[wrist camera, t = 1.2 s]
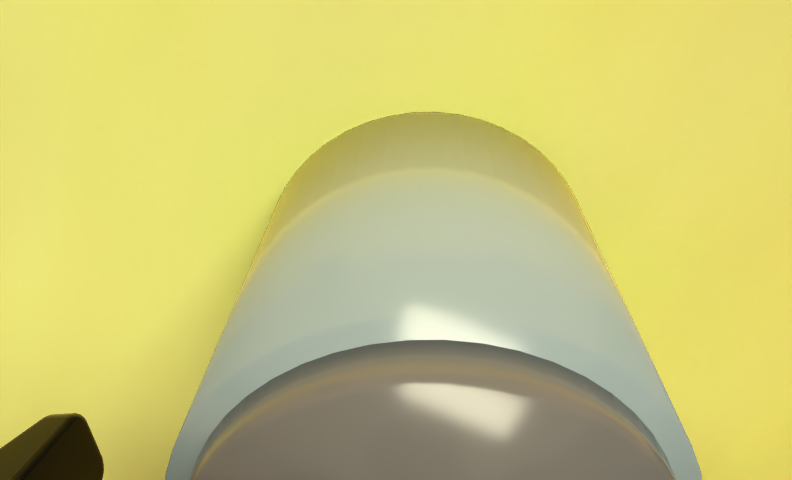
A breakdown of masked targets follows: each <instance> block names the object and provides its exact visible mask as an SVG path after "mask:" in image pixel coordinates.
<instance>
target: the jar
mask: <svg viewBox="0 0 792 480" xmlns="http://www.w3.org/2000/svg"><path fill="white" fill-rule="evenodd" d="M165 480H702V477H701V471H700V468H699V465H698V462H697V459H696V456H695V453H694V451H693V448H692V445H691V443H690V441H689V439H688V437H687V435H686V433H685V430H684V428H683V426H682V424H681V422H680V420H679V418H678V415H677V413H676V411H675V409H674V407H673V405H672V403H671V400H670V398H669V396H668V394H667V392H666V390H665V388H664V385H663V383H662V381H661V379H660V377H659V375H658V373H657V370H656V368H655V366H654V364H653V362H652V360H651V358H650V356H649V353H648V351H647V349H646V347H645V345H644V343H643V341H642V338H641V336H640V334H639V332H638V330H637V328H636V326H635V323H634V321H633V319H632V317H631V315H630V313H629V311H628V308H627V306H626V304H625V302H624V300H623V298H622V296H621V294H620V291H619V289H618V287H617V285H616V283H615V281H614V279H613V276H612V274H611V272H610V270H609V268H608V266H607V264H606V261H605V259H604V257H603V255H602V253H601V251H600V249H599V246H598V244H597V242H596V240H595V238H594V236H593V234H592V232H591V229H590V227H589V225H588V223H587V221H586V219H585V217H584V214H583V212H582V210H581V208H580V206H579V204H578V202H577V199H576V198H575V196H574V194H573V192H572V190H571V188H570V187H569V185H568V183H567V181H566V180H565V179H564V177H563V176H562V175H561V173H560V172H559V171H558V170H557V168H556V167H555V166H554V165H553V164H552V163H551V162H550V161H549V160H548V159H547V158H546V157H545V156H544V155H543V154H542V153H541V152H540V151H539V150H538V149H536V148H535V147H533V146H532V145H531V144H529V143H528V142H527V141H525V140H524V139H522V138H521V137H519V136H517V135H515V134H513V133H511V132H510V131H508V130H506V129H504V128H502V127H499V126H497V125H494V124H491V123H489V122H486V121H483V120H481V119H476V118H472V117H468V116H464V115H459V114H451V113H441V112H412V113H405V114H399V115H392V116H387V117H383V118H380V119H377V120H373V121H370V122H366V123H364V124H362V125H359V126H357V127H355V128H352V129H350V130H348V131H346V132H344V133H342V134H341V135H339V136H337V137H336V138H334V139H332V140H331V141H329V142H327V143H326V144H325V145H324V146H322V147H321V148H320V149H319V150H317V151H316V152H315V153H314V154H312V155H311V156H310V157H309V158H308V159H307V160H306V161H305V162H304V163H303V165H302V166H301V167H300V168H299V169H298V170H297V171H296V172H295V174H294V175H293V177H292V178H291V180H290V181H289V182H288V184H287V185H286V187H285V188H284V191H283V193H282V195H281V197H280V199H279V201H278V203H277V205H276V207H275V209H274V212H273V214H272V216H271V219H270V221H269V224H268V226H267V228H266V231H265V233H264V235H263V238H262V240H261V242H260V245H259V247H258V250H257V252H256V254H255V257H254V259H253V261H252V264H251V266H250V268H249V271H248V273H247V275H246V278H245V280H244V283H243V285H242V287H241V290H240V292H239V294H238V297H237V299H236V301H235V304H234V306H233V308H232V311H231V313H230V316H229V318H228V320H227V323H226V325H225V327H224V330H223V332H222V334H221V337H220V339H219V341H218V344H217V346H216V349H215V351H214V353H213V356H212V358H211V360H210V363H209V365H208V367H207V370H206V372H205V375H204V377H203V379H202V382H201V384H200V386H199V389H198V391H197V393H196V396H195V398H194V400H193V403H192V405H191V408H190V410H189V412H188V415H187V417H186V419H185V422H184V424H183V426H182V429H181V431H180V433H179V436H178V438H177V441H176V443H175V445H174V448H173V451H172V454H171V457H170V461H169V464H168V468H167V471H166V478H165Z"/></svg>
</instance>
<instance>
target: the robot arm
mask: <svg viewBox="0 0 792 480" xmlns="http://www.w3.org/2000/svg"><path fill="white" fill-rule="evenodd" d="M103 471H104V464H103V459H102V456H101V453H100V451H99V449H98V446H97V444H96V442H95V440H94V437H93V435H92V433H91V430H90V428H89V426H88V423H87V421H86V419H85V418H84V417H83V416H82V415H80V414H76V413H71V414H54V415H49V416H46V417H44V418H43V419H41V420H40V421H39V422H37V423H36V424H34V425H33V426H31V427H30V428H29V429H27V430H26V431H24V432H23V433H22V434H20V435H19V436H17V437H16V438H15V439H13V440H12V441H10V442H9V443H7V444H6V445H5V446H3V447H2V448H0V480H102V478H103Z"/></svg>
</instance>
